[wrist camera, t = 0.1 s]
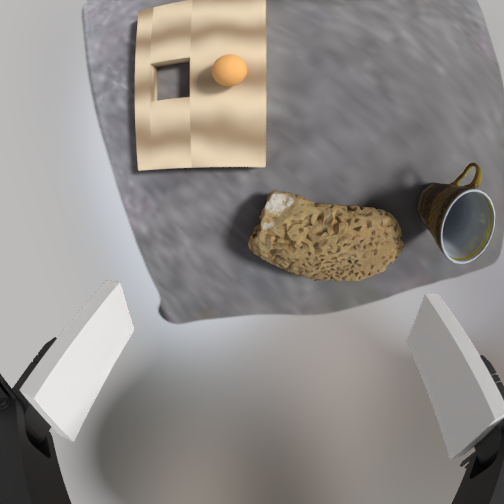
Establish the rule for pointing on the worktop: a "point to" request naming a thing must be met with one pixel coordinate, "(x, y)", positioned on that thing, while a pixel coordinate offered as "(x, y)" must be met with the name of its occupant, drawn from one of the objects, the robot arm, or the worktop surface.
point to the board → (201, 85)
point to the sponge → (325, 238)
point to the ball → (229, 70)
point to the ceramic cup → (458, 217)
